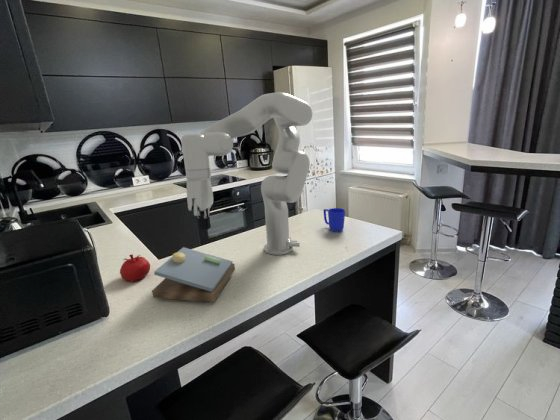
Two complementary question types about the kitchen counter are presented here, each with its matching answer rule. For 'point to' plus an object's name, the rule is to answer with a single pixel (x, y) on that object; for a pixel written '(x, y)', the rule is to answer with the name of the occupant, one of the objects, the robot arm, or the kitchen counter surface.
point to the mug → (335, 218)
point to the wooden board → (189, 289)
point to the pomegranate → (134, 268)
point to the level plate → (194, 269)
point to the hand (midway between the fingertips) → (205, 228)
